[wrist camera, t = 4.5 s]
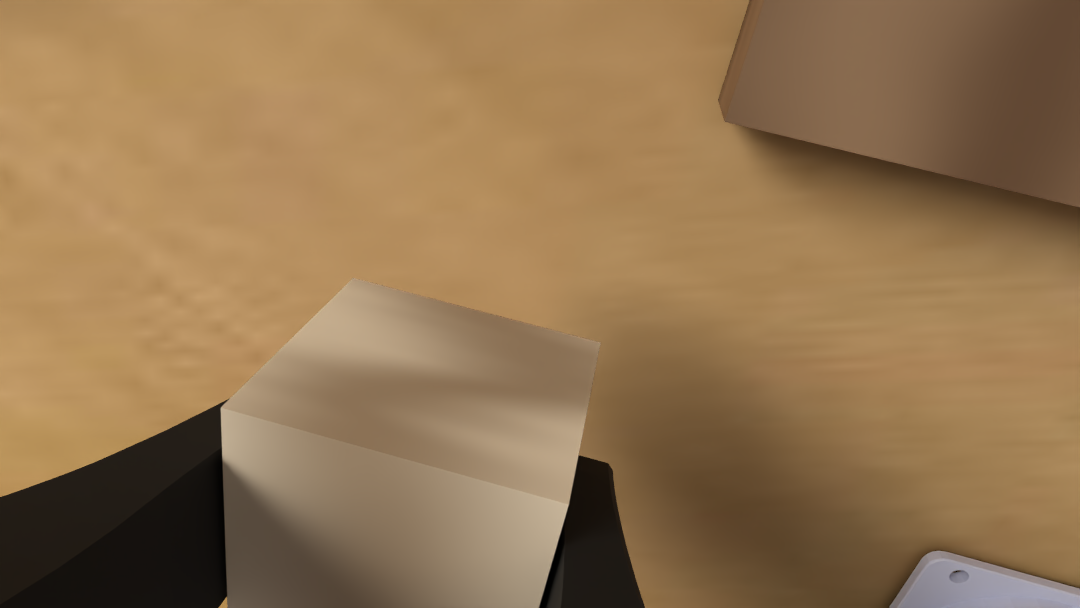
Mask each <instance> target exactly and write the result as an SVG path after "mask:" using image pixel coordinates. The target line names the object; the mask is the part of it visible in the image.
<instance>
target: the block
mask: <svg viewBox="0 0 1080 608" xmlns="http://www.w3.org/2000/svg"><path fill="white" fill-rule="evenodd" d="M600 344H601V343H600V342H597V341H593V340H589V339H585V338H581V337H578V336H574V335H570V334H566V333H562V332H558V331H555V330H551V329H547V328H543V327H539V326H535V325H532V324H528V323H524V322H520V321H516V320H512V319H509V318H505V317H501V316H497V315H493V314H489V313H486V312H482V311H478V310H474V309H470V308H466V307H463V306H459V305H455V304H451V303H447V302H443V301H440V300H436V299H432V298H428V297H424V296H421V295H417V294H413V293H409V292H405V291H401V290H398V289H394V288H390V287H386V286H382V285H378V284H375V283H371V282H367V281H363V280H359V279H355V278H353V279H352V280H351V281H350V282H349V283H348V284H346V285H345V286H344V287H343V288H342V289H341V290H340V291H339V292H338V293H337V294H336V295H335V296H334V297H333V298H332V299H331V300H330V301H329V302H328V303H327V304H326V305H325V306H324V307H323V308H322V309H321V310H320V311H319V312H318V313H317V314H316V315H315V316H314V317H313V318H312V319H311V320H310V321H309V322H308V323H307V324H306V325H305V326H304V327H303V328H302V329H301V330H299V331H298V332H297V333H296V334H295V335H294V336H293V337H292V338H291V339H290V340H289V341H288V342H287V343H286V344H285V345H284V346H283V347H282V348H281V349H280V350H279V351H278V352H277V353H276V354H275V355H274V356H273V357H272V358H271V359H270V360H269V361H268V362H267V363H266V364H265V365H264V366H263V367H262V368H261V369H260V370H259V371H258V372H257V373H256V374H255V375H254V376H252V377H251V378H250V379H249V380H248V381H247V382H246V383H245V384H244V385H243V386H242V387H241V388H240V389H239V390H238V391H237V392H236V393H235V394H234V395H233V396H232V397H231V398H230V399H229V400H228V401H227V402H226V403H225V404H224V405H223V406H222V407H221V432H222V461H223V490H224V519H225V548H226V576H227V605H228V608H539V605H540V602H541V598H542V595H543V592H544V588H545V585H546V581H547V578H548V574H549V571H550V567H551V564H552V561H553V557H554V554H555V550H556V547H557V543H558V540H559V536H560V533H561V530H562V526H563V523H564V519H565V516H566V512H567V509H568V505H569V501H570V496H571V491H572V486H573V481H574V476H575V470H576V465H577V460H578V455H579V450H580V445H581V440H582V435H583V430H584V425H585V420H586V415H587V410H588V405H589V399H590V394H591V389H592V384H593V379H594V374H595V369H596V364H597V359H598V354H599V349H600Z"/></svg>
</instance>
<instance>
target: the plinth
mask: <svg viewBox="0 0 1080 608" xmlns="http://www.w3.org/2000/svg"><path fill="white" fill-rule="evenodd" d="M718 101H719V104H720V107H721V111H722V114H723V118H724V121H725V122H728V123H732V124H736V125H741V126H745V127H749V128H753V129H757V130H761V131H765V132H769V133H774V134H778V135H782V136H786V137H790V138H794V139H798V140H803V141H807V142H811V143H815V144H819V145H823V146H827V147H832V148H836V149H840V150H844V151H848V152H852V153H856V154H860V155H865V156H869V157H873V158H877V159H881V160H885V161H889V162H894V163H898V164H902V165H906V166H910V167H914V168H918V169H923V170H927V171H931V172H935V173H939V174H943V175H947V176H951V177H956V178H960V179H964V180H968V181H972V182H976V183H980V184H985V185H989V186H993V187H997V188H1001V189H1005V190H1009V191H1014V192H1018V193H1022V194H1026V195H1030V196H1034V197H1038V198H1042V199H1047V200H1051V201H1055V202H1059V203H1063V204H1067V205H1071V206H1076V207H1080V0H750V2H749V5H748V8H747V11H746V14H745V17H744V20H743V24H742V27H741V30H740V33H739V36H738V39H737V42H736V46H735V49H734V52H733V55H732V58H731V61H730V65H729V68H728V71H727V74H726V77H725V80H724V83H723V87H722V90H721V93H720V96H719V99H718Z"/></svg>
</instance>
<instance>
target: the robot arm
mask: <svg viewBox="0 0 1080 608" xmlns="http://www.w3.org/2000/svg"><path fill="white" fill-rule="evenodd" d="M228 400H229V399H228ZM228 400H226V401H224V402H222V403H220V404H218V405H216V406H214V407H212V408H210V409H208V410H206V411H204V412H202V413H200V414H198V415H196V416H194V417H192V418H190V419H188V420H186V421H184V422H182V423H180V424H178V425H176V426H174V427H172V428H170V429H168V430H166V431H164V432H162V433H159V434H157V435H155V436H153V437H150V438H148V439H146V440H144V441H142V442H139V443H137V444H135V445H133V446H130V447H128V448H126V449H124V450H122V451H119V452H117V453H115V454H113V455H110V456H108V457H106V458H104V459H102V460H99V461H97V462H94V463H92V464H89V465H87V466H85V467H82V468H79V469H77V470H74V471H72V472H69V473H67V474H64V475H62V476H59V477H56V478H53V479H51V480H48V481H45V482H42V483H40V484H37V485H34V486H31V487H29V488H26V489H23V490H20V491H17V492H14V493H11V494H9V495H6V496H2V497H0V608H218V607H219V606H220V605H221V603H222V602H223V601H224V599H225V598H226V597H227V576H226V548H225V519H224V490H223V461H222V432H221V407H222V406H223V405H224V404H225V403H226V402H227V401H228ZM957 570H961V571H960V572H956V573H952V572H953V571H957ZM539 608H645V606H644V603H643V600H642V598H641V594H640V591H639V588H638V585H637V582H636V579H635V575H634V572H633V568H632V565H631V561H630V557H629V554H628V550H627V547H626V543H625V539H624V535H623V531H622V526H621V522H620V517H619V512H618V507H617V502H616V496H615V489H614V481H613V470H612V469H611V467H610V466H609V464H608V463H605V462H601V461H597V460H594V459H590V458H586V457H583V456H579V455H578V460H577V465H576V470H575V476H574V481H573V486H572V491H571V496H570V501H569V505H568V509H567V512H566V516H565V519H564V523H563V526H562V530H561V533H560V536H559V540H558V543H557V547H556V550H555V554H554V557H553V561H552V564H551V567H550V571H549V574H548V578H547V581H546V585H545V588H544V592H543V595H542V598H541V602H540V605H539ZM889 608H1080V589H1079V588H1076V587H1072V586H1068V585H1065V584H1061V583H1058V582H1054V581H1050V580H1047V579H1043V578H1040V577H1036V576H1032V575H1029V574H1025V573H1022V572H1018V571H1014V570H1011V569H1007V568H1004V567H1000V566H996V565H993V564H989V563H986V562H982V561H978V560H975V559H971V558H967V557H964V556H960V555H957V554H953V553H949V552H946V551H932V552H930V553H928V554H926V555H925V556H924V557H923V558H922V559H921V560H920V562H919V563H918V565H917V566H916V568H915V569H914V571H913V572H912V574H911V575H910V577H909V578H908V580H907V581H906V583H905V584H904V586H903V587H902V589H901V590H900V592H899V593H898V595H897V596H896V598H895V599H894V601H893V602H892V604H891V605H890V607H889Z"/></svg>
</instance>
